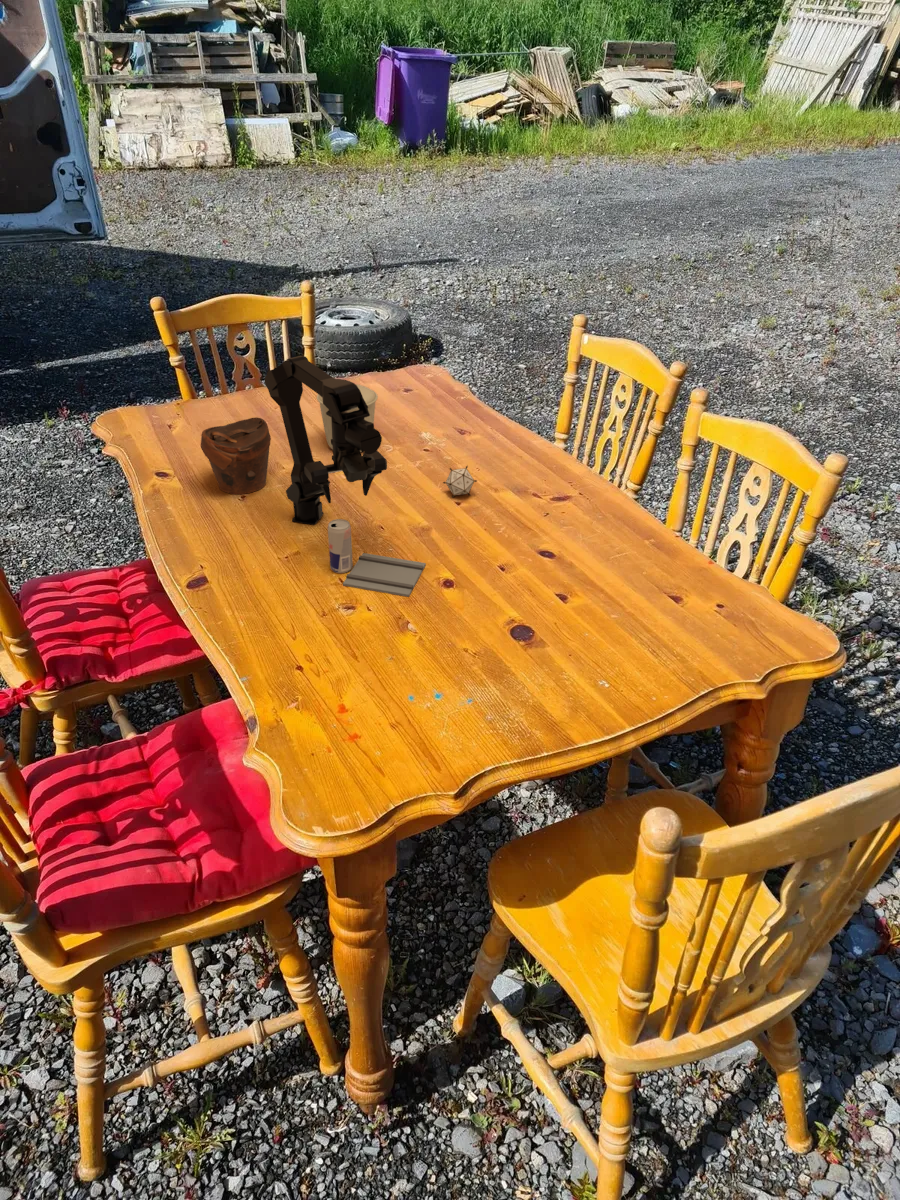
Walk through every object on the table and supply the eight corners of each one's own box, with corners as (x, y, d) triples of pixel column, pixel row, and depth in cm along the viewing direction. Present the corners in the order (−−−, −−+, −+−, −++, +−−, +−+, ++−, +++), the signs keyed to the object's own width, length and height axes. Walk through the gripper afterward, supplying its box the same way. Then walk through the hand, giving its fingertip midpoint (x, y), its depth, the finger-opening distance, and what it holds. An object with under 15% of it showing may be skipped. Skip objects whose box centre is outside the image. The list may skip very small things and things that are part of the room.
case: (192, 493, 221) (183, 432, 210) (234, 464, 236) (227, 406, 226) (247, 507, 216) (241, 445, 205) (287, 477, 231) (282, 418, 221)
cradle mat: (342, 585, 186) (342, 581, 186) (363, 554, 198) (363, 550, 197) (408, 596, 183) (408, 592, 183) (425, 565, 194) (425, 561, 194)
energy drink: (330, 562, 194) (327, 518, 188) (352, 561, 195) (350, 518, 188) (329, 574, 190) (326, 530, 183) (352, 573, 191) (350, 529, 184)
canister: (335, 464, 238) (331, 396, 226) (310, 442, 250) (305, 376, 238) (389, 452, 246) (388, 385, 234) (362, 431, 259) (360, 366, 246)
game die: (463, 508, 226) (472, 493, 217) (436, 496, 225) (443, 479, 216) (475, 483, 229) (484, 467, 220) (448, 470, 229) (455, 453, 219)
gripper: (318, 459, 174) (322, 522, 183) (396, 445, 181) (396, 506, 191) (301, 439, 182) (305, 500, 191) (377, 426, 189) (378, 486, 198)
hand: (347, 498), depth 193 cm, fingers open, 9 cm apart
